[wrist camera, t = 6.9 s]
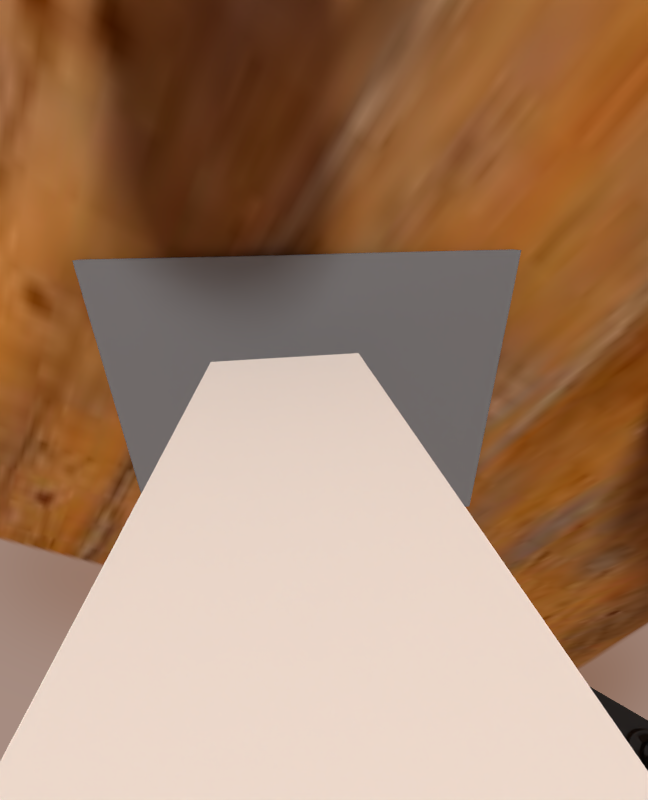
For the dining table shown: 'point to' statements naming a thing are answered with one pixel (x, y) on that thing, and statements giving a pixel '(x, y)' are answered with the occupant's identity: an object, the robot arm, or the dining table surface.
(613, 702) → the robot arm
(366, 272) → the mat
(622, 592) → the dining table surface
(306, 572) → the block
